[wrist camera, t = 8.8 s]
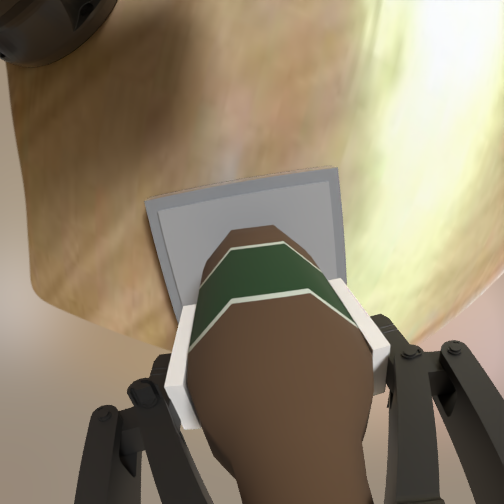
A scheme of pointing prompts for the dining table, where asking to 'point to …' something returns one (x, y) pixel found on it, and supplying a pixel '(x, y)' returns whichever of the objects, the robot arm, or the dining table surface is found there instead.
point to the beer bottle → (280, 374)
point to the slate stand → (246, 223)
